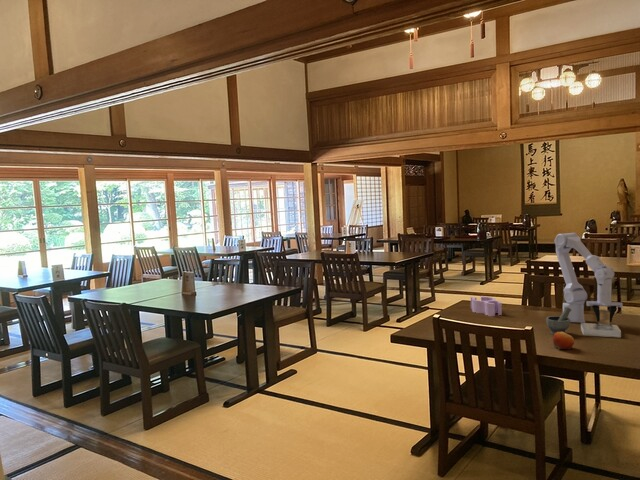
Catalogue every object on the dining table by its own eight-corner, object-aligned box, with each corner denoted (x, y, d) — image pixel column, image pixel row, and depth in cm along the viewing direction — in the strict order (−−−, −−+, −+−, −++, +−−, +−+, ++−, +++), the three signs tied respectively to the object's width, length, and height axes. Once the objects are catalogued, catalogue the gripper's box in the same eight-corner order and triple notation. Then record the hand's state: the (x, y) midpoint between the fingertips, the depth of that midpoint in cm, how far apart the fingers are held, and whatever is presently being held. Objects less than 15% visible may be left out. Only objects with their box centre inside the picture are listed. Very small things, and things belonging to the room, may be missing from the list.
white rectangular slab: (583, 335, 221) (583, 328, 221) (580, 329, 231) (580, 322, 230) (620, 337, 216) (620, 330, 215) (616, 331, 225) (616, 324, 225)
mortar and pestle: (553, 337, 221) (553, 310, 219) (542, 331, 230) (541, 306, 229) (577, 335, 222) (577, 309, 221) (564, 329, 231) (564, 304, 230)
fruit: (544, 343, 208) (554, 326, 208) (559, 351, 209) (569, 335, 209) (555, 348, 200) (565, 331, 200) (571, 357, 201) (580, 340, 201)
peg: (599, 328, 231) (599, 311, 230) (598, 326, 234) (598, 309, 234) (609, 329, 229) (609, 312, 228) (608, 326, 233) (608, 310, 232)
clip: (507, 315, 263) (507, 302, 262) (487, 317, 260) (486, 304, 259) (486, 307, 282) (486, 295, 281) (466, 309, 279) (466, 297, 278)
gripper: (587, 294, 229) (587, 322, 230) (624, 295, 224) (623, 324, 225) (586, 291, 236) (585, 319, 237) (621, 292, 230) (620, 320, 232)
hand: (604, 321), depth 231 cm, fingers open, 4 cm apart
